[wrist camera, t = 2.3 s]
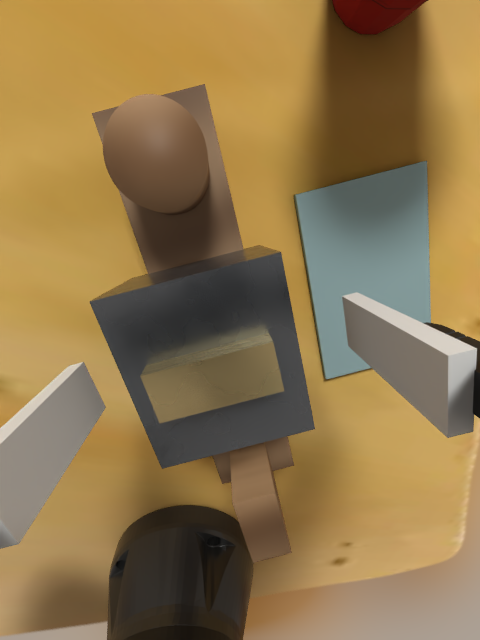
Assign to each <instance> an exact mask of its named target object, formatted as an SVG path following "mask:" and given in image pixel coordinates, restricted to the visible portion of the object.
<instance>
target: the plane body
mask: <svg viewBox="0 0 480 640" xmlns="http://www.w3.org/2000/svg"><path fill="white" fill-rule="evenodd" d="M92 115H93V118H94V121H95V124H96V127H97V130H98V132H99V135H100V138H101V141H102V144H103V155H104V160H105V164H106V167H107V170H108V172H109V175H110V177H111V179H112V180H113V182H114V184H115V185H116V186H117V188H118V189H119V192H120V195H121V198H122V200H123V203H124V206H125V209H126V212H127V215H128V217H129V220H130V223H131V226H132V229H133V232H134V235H135V237H136V240H137V243H138V246H139V249H140V252H141V254H142V257H143V260H144V263H145V266H146V269H147V271H148V274H150V273H154V272H158V271H162V270H165V269H169V268H173V267H177V266H181V265H185V264H189V263H192V262H196V261H200V260H204V259H208V258H212V257H216V256H219V255H223V254H227V253H231V252H235V251H239V250H243V245H242V241H241V237H240V232H239V228H238V224H237V220H236V215H235V211H234V207H233V203H232V198H231V194H230V190H229V185H228V181H227V177H226V173H225V168H224V164H223V160H222V156H221V151H220V147H219V143H218V139H217V134H216V130H215V126H214V122H213V117H212V113H211V109H210V104H209V100H208V96H207V92H206V87H205V84H203V85H199V86H195V87H192V88H188V89H184V90H180V91H176V92H172V93H168V94H165V95H154V94H144V95H139V96H136V97H133V98H130V99H129V100H127V101H125V102H124V103H122V104H121V105H120V106H118V107H114V108H111V109H107V110H103V111H99V112H95V113H92ZM213 459H214V462H215V464H216V467H217V470H218V473H219V476H220V479H221V481H222V484H224V483H228V482H231V484H232V502H233V506H234V509H235V512H236V515H237V518H238V521H239V524H240V527H241V529H242V532H243V535H244V538H245V541H246V544H247V547H248V550H249V552H250V555H251V558H252V561H253V563H254V562H258V561H262V560H266V559H270V558H273V557H277V556H281V555H285V554H289V553H292V552H291V548H290V544H289V539H288V535H287V531H286V526H285V522H284V518H283V514H282V509H281V505H280V501H279V496H278V492H277V488H276V483H275V479H274V475H273V471H274V470H278V469H282V468H286V467H290V466H294V463H293V458H292V454H291V450H290V446H289V441H288V437H287V436H286V437H282V438H278V439H274V440H271V441H267V442H263V443H259V444H255V445H251V446H247V447H244V448H240V449H236V450H232V451H228V452H224V453H220V454H217V455H213Z"/></svg>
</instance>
